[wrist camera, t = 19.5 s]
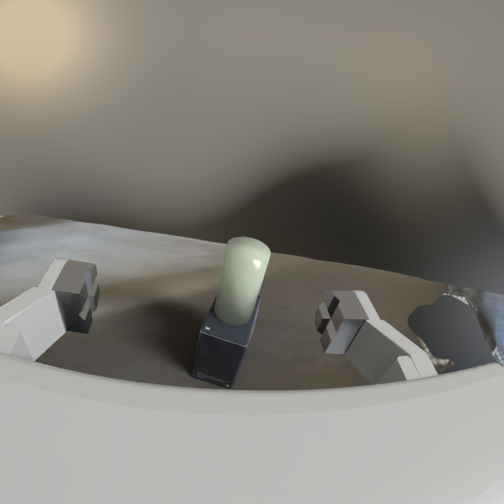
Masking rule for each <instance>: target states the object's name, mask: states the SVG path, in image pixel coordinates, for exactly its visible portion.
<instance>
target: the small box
mask: <svg viewBox="0 0 504 504" xmlns="http://www.w3.org/2000/svg"><path fill="white" fill-rule="evenodd" d="M216 297H217V295H216ZM216 297H215V299H214V301H213V303H212V305H211V308H210V310H209V312H208V314H207V316H206V318H205V320H204V323H203V325H202V327H201V329H200V332H199V338H198V344H197V350H196V357H195V363H194V368H193V373H192V376H193V377H195V378H198V379H201V380H204V381H207V382H210V383H213V384H216V385H219V386H222V387H225V388H229V389H231V388H232V386H233V384H234V382H235V380H236V377H237V375H238V372H239V370H240V367H241V364H242V362H243V359H244V356H245V353H246V350H247V347H248V345H249V342H250V339H251V335H252V332H253V328H254V324H255V320H256V316H257V312H258V308H259V304H260V299H261V296H260V295H258V297H257V300H256V304H255V307H254V310H253V313H252V317H251V319H250V321H249V322H247V323H246V324H244V325H240V326H233V325H228V324H226V323H224V322H222V321H220V320H219V319H218V318H217V316H216V315H215V312H214V307H215V302H216Z"/></svg>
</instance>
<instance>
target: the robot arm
mask: <svg viewBox="0 0 504 504" xmlns="http://www.w3.org/2000/svg"><path fill="white" fill-rule="evenodd" d="M96 276H97V269H96V265H95V264H92V263H85V262H79V261H73V260H66V259H60V258H56V259H54V260H53V262H52V263H51V265H50V267H49V268H48V270H47V272H46V273H45V275H44V277H43V278H42V280H41V282H40V284H39V285H38V287H33V288H31V289H29V290H28V291H26V292H24V293H23V294H21V295H19V296H18V297H16V298H14V299H13V300H11V301H9V302H8V303H6V304H5V305H3V306H1V307H0V504H504V367H503V366H501V365H499V364H497V363H489V364H485V365H482V366H478V367H474V368H470V369H465V370H461V371H456V372H451V373H447V374H441V375H438V374H437V372H436V370H435V368H434V366H433V364H432V362H431V361H430V359H429V357H428V355H427V353H426V352H424V351H423V350H422V349H420V348H419V347H418V346H417V345H415V344H414V343H413V342H411V341H410V340H409V339H407V338H406V337H405V336H404V335H402V334H401V333H400V332H398V331H397V330H396V329H394V328H393V327H392V326H390V325H389V324H388V323H387V322H385V321H384V320H380V318H379V317H378V315H377V313H376V311H375V309H374V307H373V305H372V303H371V302H370V300H369V298H368V296H367V294H366V293H365V292H364V291H354V290H352V291H348V290H334V289H327V291H326V292H325V293H324V295H323V300H324V302H323V303H322V304H321V305H319V306H318V308H317V311H316V313H315V326H316V329H317V331H318V332H319V333H320V334H322V336H321V338H320V341H321V344H322V347H323V350H324V353H345V354H344V355H345V356H346V357H347V358H348V359H349V360H350V361H351V362H352V363H353V364H354V365H355V366H356V368H357V369H358V370H359V371H360V372H361V373H362V374H363V375H364V376H365V377H366V378H367V379H368V380H369V382H370V383H371V384H372V385H366V386H356V387H345V388H331V389H314V390H283V391H251V390H220V389H202V388H189V387H177V386H167V385H158V384H149V383H141V382H134V381H127V380H120V379H114V378H108V377H102V376H97V375H91V374H86V373H81V372H76V371H71V370H67V369H62V368H58V367H54V366H49V365H45V364H41V363H37V362H34V361H35V360H36V359H37V358H38V357H39V356H40V355H41V354H42V353H43V352H45V351H46V350H47V349H48V348H49V347H50V346H51V345H52V344H53V343H54V342H55V341H56V340H57V339H59V338H60V337H61V336H62V335H63V334H64V333H65V332H66V331H71V332H77V333H83V334H88V332H89V329H90V326H91V323H92V314H91V313H93V312H94V311H96V308H97V305H98V299H99V285H98V283H97V282H96V281H95V278H96Z"/></svg>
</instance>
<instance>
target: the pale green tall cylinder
mask: <svg viewBox="0 0 504 504" xmlns="http://www.w3.org/2000/svg"><path fill="white" fill-rule="evenodd" d="M269 258H270V250H269V248H268V247H267V246H266V245H265V244H264V243H262V242H260V241H258V240H256V239H253V238H249V237H236V238H233V239H231V240H229V241H228V243H227V247H226V252H225V256H224V261H223V266H222V271H221V276H220V282H219V287H218V292H217V297H216V302H215V307H214V312H215V315H216V316H217V318H218V319H219V320H220V321H222V322H224V323H226V324H228V325H233V326H240V325H244V324H246V323H247V322H249V321H250V319H251V317H252V313H253V310H254V307H255V304H256V300H257V297H258V294H259V291H260V287H261V284H262V281H263V277H264V274H265V271H266V267H267V264H268V261H269Z"/></svg>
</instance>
